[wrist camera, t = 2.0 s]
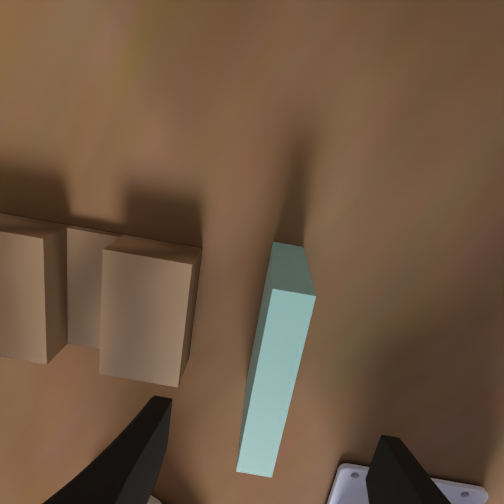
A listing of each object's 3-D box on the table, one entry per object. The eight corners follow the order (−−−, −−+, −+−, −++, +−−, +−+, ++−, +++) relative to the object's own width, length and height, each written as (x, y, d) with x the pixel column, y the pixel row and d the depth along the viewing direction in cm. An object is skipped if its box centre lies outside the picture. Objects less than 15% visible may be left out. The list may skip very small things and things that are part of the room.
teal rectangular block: (303, 246, 19) (316, 296, 13) (272, 386, 21) (271, 477, 16) (272, 241, 19) (272, 288, 13) (246, 381, 21) (236, 471, 16)
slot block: (202, 248, 19) (192, 264, 16) (188, 359, 21) (177, 387, 19) (-7, 211, 19) (-46, 223, 16) (2, 326, 21) (-32, 351, 19)
